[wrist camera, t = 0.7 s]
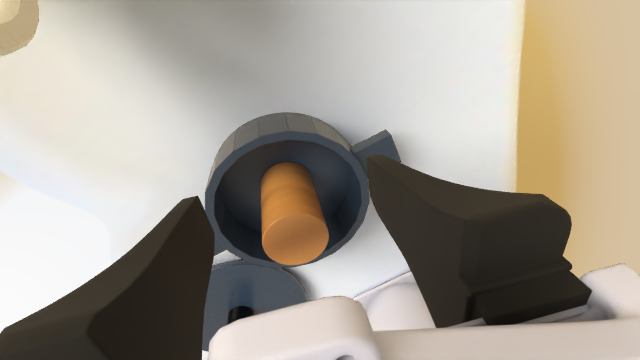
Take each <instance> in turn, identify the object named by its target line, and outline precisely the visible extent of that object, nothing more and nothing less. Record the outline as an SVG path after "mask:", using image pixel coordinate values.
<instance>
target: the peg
mask: <svg viewBox="0 0 640 360" xmlns="http://www.w3.org/2000/svg"><path fill="white" fill-rule="evenodd" d="M261 219H262V246H263V249H264V251H265V253H266V254H267V255H268V256H269V257H270V258H271V259H272V260H274V261H275V262H278V263H280V264H285V265H300V264H304V263H307V262H309V261H311V260H313V259H315V258H316V257H318V256H319V255H320V254H321V253H322V252H323V251H324V249H325V248H326V246H327V243H328V239H329V233H328V229H327V226H326V223H325V219H324V216H323V213H322V210H321V206H320V203H319V200H318V197H317V193H316V190H315V187H314V184H313V180H312V177H311V175H310V173H309V171H308V170H307V169H306V168H304V167H303V166H301V165H299V164H297V163H293V162H283V163H279V164H276V165H274V166H272V167H271V168H270V169H268V170H267V171H266V172H265V174H264V175H263V177H262V180H261Z"/></svg>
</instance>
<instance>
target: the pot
mask: <svg viewBox="0 0 640 360" xmlns="http://www.w3.org/2000/svg"><path fill="white" fill-rule="evenodd" d="M377 154H382V155H384V156H387V157H389V158H391V159H393V160H395V161H397V162H399V163H400V162H401V160H400V157H399V155H398V152H397V149H396V147H395V144H394V141H393V139H392V136H391V134H390V133H389V132H388V131H387V130H384V131H382V132H380V133H378V134H376V135H374V136H372V137H370V138H368V139H366V140H364V141H362V142H360V143H358V144H356V145H354V146H352V147H350V146H349V144H348V143H347V142H346V141H345V140H344V139H343V137H342V136H341V135H340V134H339V133H338V132H337V131H336V130H335V129H334V128H332V127H331V126H330V125H328V124H327V123H325V122H323V121H321V120H319V119H317V118H314V117H311V116H308V115H303V114H299V113H275V114H269V115H265V116H262V117H259V118H256V119H254V120H252V121H249V122H247V123H246V124H244V125H243V126H241V127H239V128H238V129H237V130H236V131H234V132H233V133H232V134H231V135H230V136H229V137H228V138H227V139H226V141H225V142H224V143H223V145H222V146H221V148H220V149H219V151H218V153H217V155H216V157H215V161H214V163H213V166H212V168H211V172H210V176H209V179H208V183H207V187H206V191H205V213H206V215H207V217H208V219H209V221H210V224H211V226H212V228H213V230H214V233H215V248H214V256H215V255H217V254H219V253H221V252H223V251H225V250H228V251H229V252H231V253H232V254H234V255H236V256H238V257H240V258H241V259H243V260H245V261H247V262H249V263H253V264H257V265H262V266H266V267H276V268H292V267H297V266H301V265H306V264H310V263H314V262H316V261H319V260H321V259H323V258H325V257H327V256H329V255H331V254H333V253H334V252H336V251H337V250H339V249H340V248H341V247H342V246H343V245H345V244H346V243H347V242H348V241H349V240H351V238H352V237H353V236H354V234H355V233H356V231H357V230H358V229H359V227H360V226H361V224H362V223H363V221H364V218H365V215H366V212H367V208H368V205H369V186H368V169H367V159H366V157H368V156H373V155H377ZM283 162H293V163H297V164H299V165H301V166H303V167H304V168H306V169H307V170H308V171H309V173H310V175H311V177H312V180H313V184H314V187H315V190H316V193H317V197H318V200H319V203H320V206H321V210H322V213H323V216H324V219H325V223H326V226H327V229H328V233H329V239H328V243H327V246H326V248H325V249H324V251H323V252H322V253H321V254H320V255H319V256H318V257H316V258H315V259H313V260H311V261H309V262H307V263H304V264H300V265H285V264H280V263H278V262H275V261H274V260H272V259H271V258H270V257H269V256H268V255H267V254H266V253H265V251H264V249H263V246H262V219H261V180H262V177H263V175H264V174H265V172H266V171H267V170H268V169H270V168H271V167H272V166H274V165H276V164H279V163H283Z"/></svg>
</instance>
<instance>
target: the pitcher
mask: <svg viewBox="0 0 640 360" xmlns="http://www.w3.org/2000/svg"><path fill="white" fill-rule="evenodd" d="M38 22H39V7H38V0H0V56H3V55H7V54H9V53H12V52H14V51H16V50H18V49H20V48H22V47H24V46H26V45H27V44H28V43H29V42H30V40H31V39H32V38H33V37H34V34H35V32H36V28H37V25H38Z"/></svg>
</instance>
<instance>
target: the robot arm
mask: <svg viewBox="0 0 640 360" xmlns="http://www.w3.org/2000/svg"><path fill="white" fill-rule="evenodd" d="M366 159H367V169H368V180H369V191H370V197H371V200H372V202H373V204H374V207H375V209H376V211H377V213H378V215H379V217H380V218H381V220H382V222H383V223H384V225H385V227H386V228H387V230H388V231H389V233H390V235H391V236H392V238H393V239H394V241H395V243H396V244H397V246H398V248H399V249H400V251H401V252H402V254H403V256H404V258H405V260H406V262H407V264H408V266H409V268H410V270H411V271H410V272H408V273H406V274H403V275H401V276H399V277H397V278H395V279H393V280H391V281H388V282H386V283H384V284H382V285H380V286H378V287H376V288H374V289H371V290H369V291H367V292H365V293H363V294H361V295H359V296H356V297H355V298H354V299H351V298H348V297H345V296H334V297H323V298H320V299H316V300H312V301H308V302H304V303H300V304H296V305H293V306H289V307H285V308H281V309H277V310H273V311H269V312H266V313H262V314H258V315H254V316H250V317H246V318H242V319H239V320H237V321H234V322H232V323H230V324H228V325H226V326H224V327H222V328H220V329H219V330H218V331H217V333H216V334H215V335H214V336H213V338H212V339H211V340H210V343H209V351H208V358H207V360H640V275H639V274H638V273H636V272H635V271H634V270H632V269H631V268H630V267H628V266H627V265H626V264H616V265H612V266H609V267H605V268H601V269H598V270H594V271H590V272H588V273H586V274H584V275H583V276H582V277H580V279H578V278H577V277H576V276H575V275H574V274H573V273H571V272H570V271H569V270H571V269H572V264H571V263H570V262H569V261H567V260H566V259H565V258H564V257H563V253H564V250H565V247H566V244H567V241H568V238H569V235H570V231H571V226H572V223H571V217H570V215H569V214H568V212H567V211H566V210H565V209H563V208H562V207H561V206H559V205H558V204H556V203H555V202H553V201H552V200H550V199H549V198H548V197H546V196H545V195H543V194H528V193H510V192H501V191H492V190H485V189H479V188H474V187H469V186H464V185H459V184H455V183H452V182H448V181H445V180H441V179H438V178H435V177H432V176H430V175H427V174H424V173H422V172H419V171H417V170H414V169H412V168H410V167H408V166H406V165H403V164H401V163H399V162H397V161H395V160H393V159H391V158H389V157H387V156H384V155H382V154H377V155H373V156H368V157H366ZM214 248H215V233H214V230H213V228H212V226H211V224H210V221H209V219H208V217H207V215H206V213H205V210H204V208H203V206H202V204H201V201H200V199H199V197H198V196H195V197H190V198H186V199H183V200H182V201H180V202H179V203H178V204H177V205H176V206H175V207H174V208H173V209H172V210H171V211H170V212H169V213H168V214H167V215H166V216H165V217H164V218H163V219H162V220H161V221H160V222H159V223H158V224H157V225H156V226H155V227H154V228H153V229H152V230H151V231H150V232H149V233H148V234H147V235H146V236H145V237H144V238H143V239H142V240H141V241H140V242H139V243H138V244H136V245H135V246H134V247H133V248H132V249H131V250H130V251H128V252H127V253H126V254H125V255H124V256H122V257H121V258H120V259H119V260H117V261H116V262H115V263H113V264H112V265H111V266H110V267H108V268H107V269H105V270H104V271H102V272H101V273H100V274H98V275H97V276H95V277H94V278H92V279H91V280H89V281H88V282H87V283H85V284H84V285H82V286H80V287H79V288H77V289H76V290H74V291H72V292H71V293H69V294H67V295H66V296H64V297H62V298H61V299H59V300H57V301H56V302H54V303H52V304H50V305H48V306H47V307H45V308H43V309H41V310H39V311H37V312H35V313H33V314H31V315H29V316H28V317H26V318H24V319H22V320H20V321H18V322H16V323H14V324H12V325H10V326H8V327H6V328H4V330H3V331H2V332H1V333H0V360H202V339H203V322H204V310H205V302H206V296H207V291H208V286H209V280H210V275H211V270H212V264H213V258H214Z"/></svg>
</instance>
